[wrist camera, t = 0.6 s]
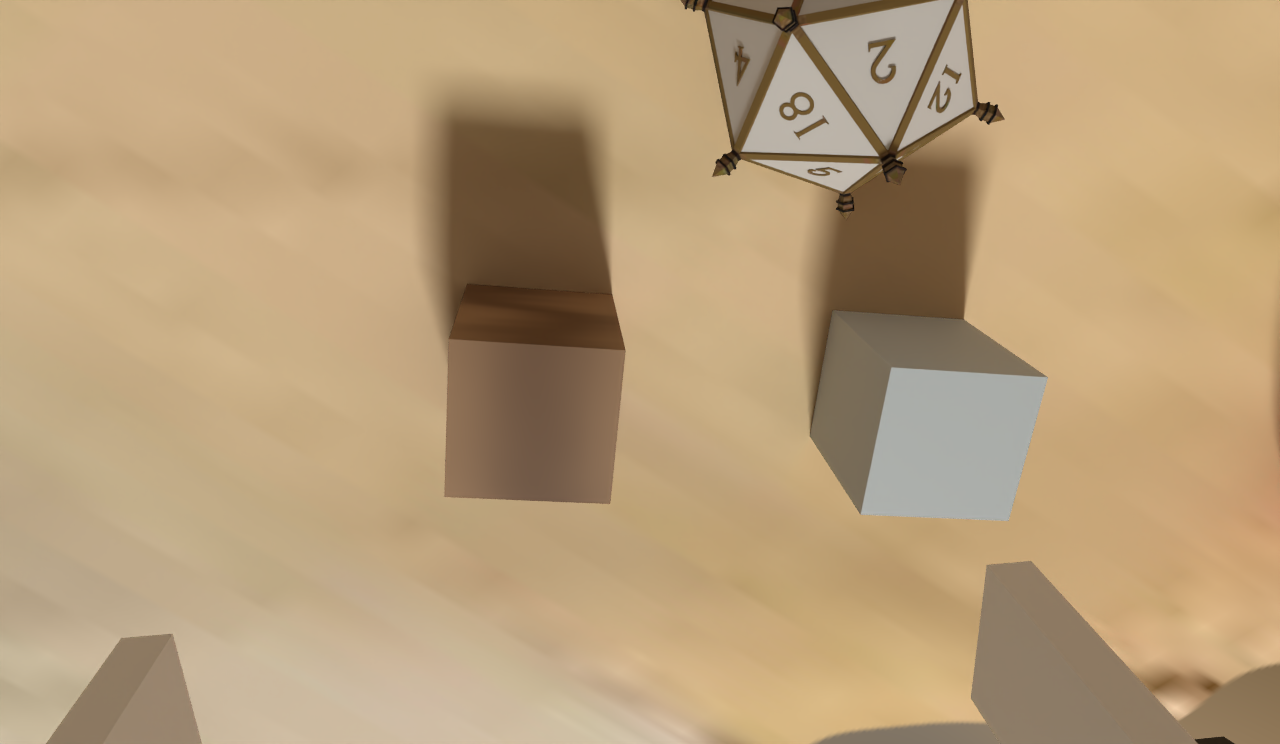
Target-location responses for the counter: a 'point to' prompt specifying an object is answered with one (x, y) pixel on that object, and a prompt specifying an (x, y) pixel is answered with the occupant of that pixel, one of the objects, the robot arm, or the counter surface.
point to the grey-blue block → (924, 416)
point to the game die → (840, 84)
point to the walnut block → (533, 395)
